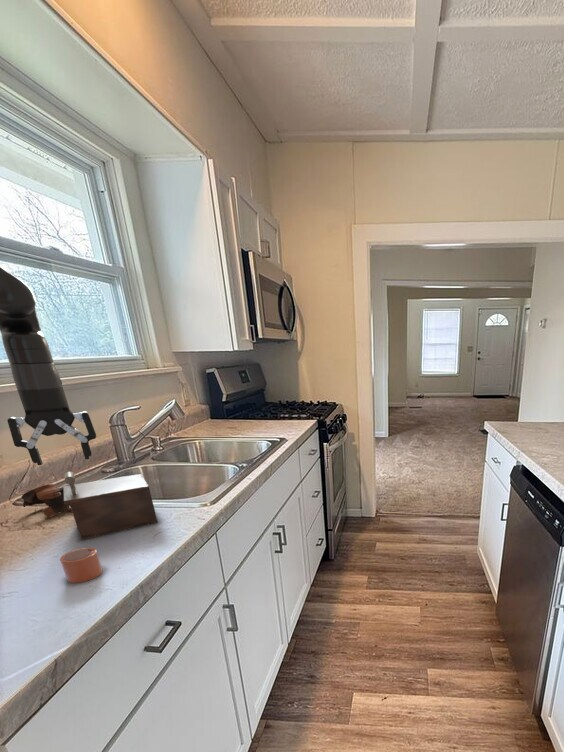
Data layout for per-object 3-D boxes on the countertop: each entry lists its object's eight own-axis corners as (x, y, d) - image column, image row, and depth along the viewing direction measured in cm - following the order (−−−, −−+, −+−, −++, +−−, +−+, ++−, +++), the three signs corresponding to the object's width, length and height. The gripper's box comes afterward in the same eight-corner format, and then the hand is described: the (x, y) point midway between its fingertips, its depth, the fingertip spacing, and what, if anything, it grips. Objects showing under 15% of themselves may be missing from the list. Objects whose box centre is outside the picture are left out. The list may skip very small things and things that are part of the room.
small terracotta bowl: (75, 586, 73) (67, 564, 72) (62, 577, 76) (54, 556, 74) (108, 572, 78) (101, 552, 76) (94, 564, 80) (88, 545, 79)
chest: (81, 539, 91) (69, 503, 87) (79, 522, 100) (68, 488, 97) (157, 522, 99) (149, 489, 96) (149, 507, 109) (141, 476, 105)
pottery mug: (34, 523, 101) (13, 495, 99) (41, 527, 109) (22, 501, 107) (85, 500, 107) (66, 473, 105) (89, 505, 115) (71, 480, 113)
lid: (64, 504, 87) (57, 482, 85) (64, 489, 96) (57, 469, 94) (149, 489, 96) (144, 469, 94) (141, 476, 105) (136, 458, 103)
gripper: (-9, 389, 77) (21, 470, 83) (81, 385, 84) (102, 460, 91) (-3, 387, 83) (25, 463, 89) (81, 383, 90) (101, 453, 96)
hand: (64, 461), depth 90 cm, fingers open, 8 cm apart
